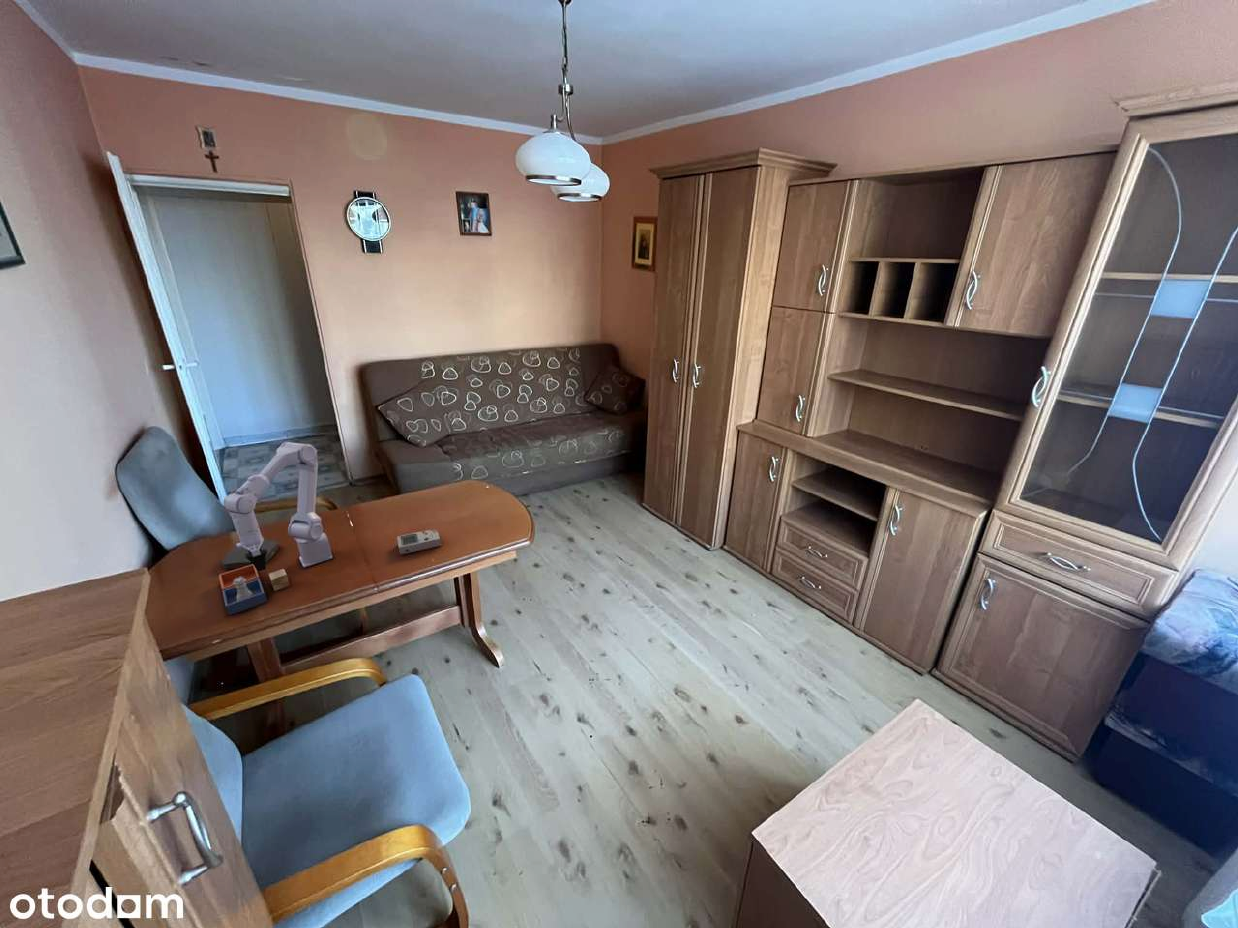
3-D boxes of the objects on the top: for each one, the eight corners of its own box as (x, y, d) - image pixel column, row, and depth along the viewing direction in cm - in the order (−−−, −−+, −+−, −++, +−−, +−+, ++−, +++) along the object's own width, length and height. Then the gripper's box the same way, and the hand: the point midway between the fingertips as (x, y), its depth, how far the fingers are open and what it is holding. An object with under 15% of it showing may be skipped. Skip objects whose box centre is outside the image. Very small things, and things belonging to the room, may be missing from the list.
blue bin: (262, 586, 170) (259, 578, 168) (267, 601, 162) (264, 592, 161) (225, 599, 163) (222, 590, 162) (229, 615, 156) (225, 606, 155)
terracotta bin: (257, 571, 177) (254, 563, 176) (262, 585, 170) (259, 576, 169) (221, 583, 171) (218, 574, 170) (225, 598, 164) (221, 589, 163)
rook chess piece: (242, 595, 165) (235, 574, 161) (257, 594, 165) (250, 574, 162) (234, 604, 160) (226, 583, 157) (249, 603, 161) (241, 582, 158)
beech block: (287, 579, 173) (284, 568, 171) (290, 585, 170) (286, 574, 168) (272, 584, 171) (268, 573, 169) (274, 591, 167) (270, 579, 166)
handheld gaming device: (441, 546, 193) (440, 538, 191) (400, 556, 187) (398, 547, 185) (438, 536, 200) (436, 527, 199) (398, 544, 194) (396, 536, 193)
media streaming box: (218, 570, 178) (216, 563, 176) (240, 548, 191) (238, 541, 190) (264, 567, 180) (261, 560, 179) (282, 545, 193) (280, 538, 192)
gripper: (229, 523, 161) (242, 559, 166) (235, 542, 151) (248, 580, 156) (255, 516, 165) (267, 551, 170) (262, 534, 155) (274, 571, 160)
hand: (260, 564), depth 164 cm, fingers open, 7 cm apart
